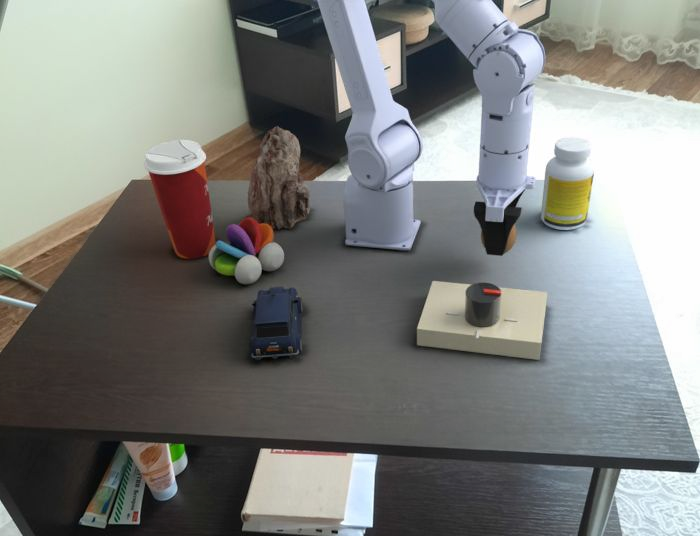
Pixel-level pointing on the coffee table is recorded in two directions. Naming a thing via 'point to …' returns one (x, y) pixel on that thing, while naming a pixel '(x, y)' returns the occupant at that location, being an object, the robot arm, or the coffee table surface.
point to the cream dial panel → (499, 339)
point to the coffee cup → (183, 195)
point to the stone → (278, 182)
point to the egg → (510, 240)
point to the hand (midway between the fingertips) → (497, 243)
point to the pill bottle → (568, 184)
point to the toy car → (276, 323)
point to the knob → (482, 304)
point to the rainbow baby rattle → (247, 251)
